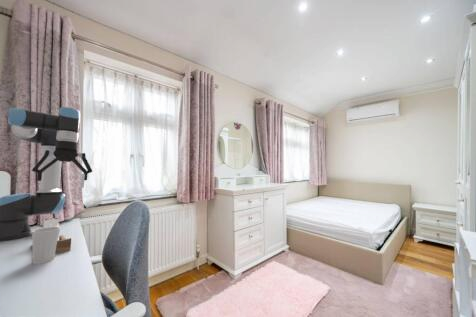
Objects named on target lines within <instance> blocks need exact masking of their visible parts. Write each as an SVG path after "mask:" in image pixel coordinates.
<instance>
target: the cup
mask: <svg viewBox="0 0 476 317" xmlns="http://www.w3.org/2000/svg"><path fill="white" fill-rule="evenodd" d="M60 229H61V227H60V226H59V227H48V228H43V227H42V228H38V229H34V230H33V229H32V230H31V240H32V244H31V245H32V255H31V256H32V257H31V258H32V259H31V264H32V265H42V264H45V263H46V262H47V263H49V262H52V261H54V260H55V257H56V254H55V251H56V245H57V241H58V240H59V235H60Z"/></svg>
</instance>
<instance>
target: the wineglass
mask: <svg viewBox="0 0 476 317" xmlns="http://www.w3.org/2000/svg"><path fill="white" fill-rule="evenodd" d="M59 225H60V221H59V218H58V217H54V218H46V219H44V221H43V224H42V228H48V227H60V226H59Z"/></svg>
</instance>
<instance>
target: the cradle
mask: <svg viewBox="0 0 476 317" xmlns="http://www.w3.org/2000/svg"><path fill="white" fill-rule="evenodd" d="M71 248H72V238H71V237H70V238H69V237H68V238H66V237H65V236H64V235H63V234H59V235H58V240H57V245H56V251H55V255H56V254H58V253H65V252H68V251H71Z"/></svg>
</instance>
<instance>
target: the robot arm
mask: <svg viewBox="0 0 476 317" xmlns="http://www.w3.org/2000/svg"><path fill="white" fill-rule="evenodd" d="M57 114H58V115H56V114H52V113H51V114H49V113H45V112H39V111H34V110H33V111H32V110H27V109H23V108H17V107H11V108H9V110H8V115H7V124H8V125H9V126H10V125H11V128H10V130H11V133H12V134H13V135H14V136H15V137H17V138H18V139H20V140H23V141H25V142H29V143H33V144H40V148H42V149H43V155H42V158H40V159H39V161H38V162H37V163H36V164H35V165H34V166H33V168H32V169H31V171H32V172H34V173H37V177H36V178H37V179H36V180H37V181H38V182H39V181H40V184H39V185H40V186H39V189H38V190H36V192H35V194H31V193H30V192H24V193H16V194H10V195H3V196H0V242H3V241H4V240H5V241H10V240H16V239H21V238H25V237H28V236H30V235H32V229H31V227H30V223H29V217H31V216H39V215H52V214H58V213H60V212H61V211H62V209H63V208H64V204H65V201H66V194H65V193H63V190H62V189H61V188H60V187H61V186H60V185H61V184H60V183H61V174H62V165H63V164H62V163H63V162H66V163H70V162H72V163H73V164H74V165H75V166H76V167H77V168H78V169H79V170H80V171H81V172H82V173H81V176H80V188H85V187H84V186H85V181H87V180H88V174H90V173H91V174H92V172H93V169H92V167H91V165H90V163H89V162H88V160H87V157H86V152H82V153H81V152H79V153H78V146H79V145H78V141H79V131H80V122H81V112H80V111H79V110H78V109H76V108H73V107H69V106H67V107H66V106H62V107H60V108H58V113H57ZM77 157H79V158H81V160H82V162H83V164H84V166H85V167H84V166H83V165H82V164H81V163H80V162H79V161H78V159H76V158H77ZM40 166H41V168H40ZM39 168H40V169H39ZM5 241H4V242H5Z"/></svg>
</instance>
